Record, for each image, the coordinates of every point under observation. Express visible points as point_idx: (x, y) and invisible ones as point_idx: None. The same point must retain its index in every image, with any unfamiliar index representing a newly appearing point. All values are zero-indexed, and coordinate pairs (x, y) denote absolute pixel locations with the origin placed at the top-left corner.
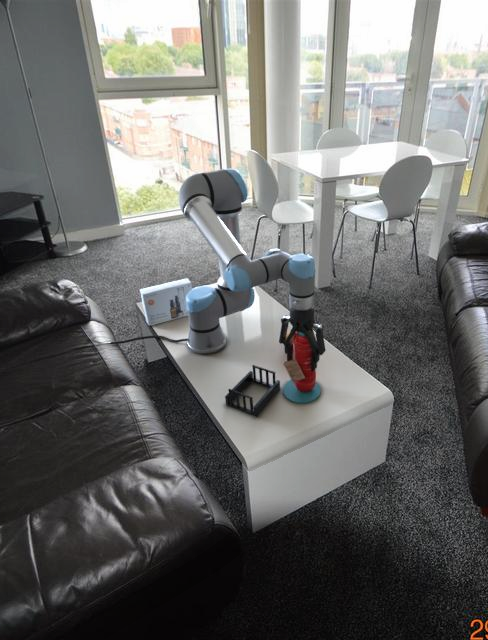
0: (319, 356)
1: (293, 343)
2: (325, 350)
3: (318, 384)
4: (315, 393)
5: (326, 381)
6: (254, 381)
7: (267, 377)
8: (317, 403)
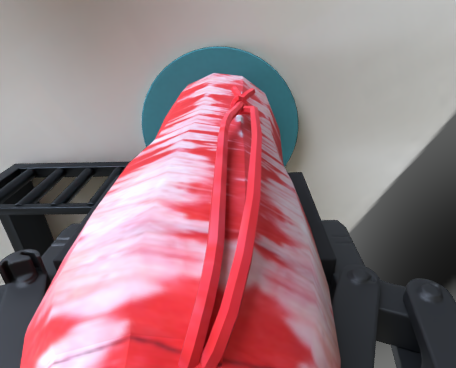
0: (356, 249)
1: None
2: (449, 293)
3: (268, 64)
4: (280, 126)
5: (290, 11)
6: (37, 175)
7: (76, 194)
8: (305, 162)
